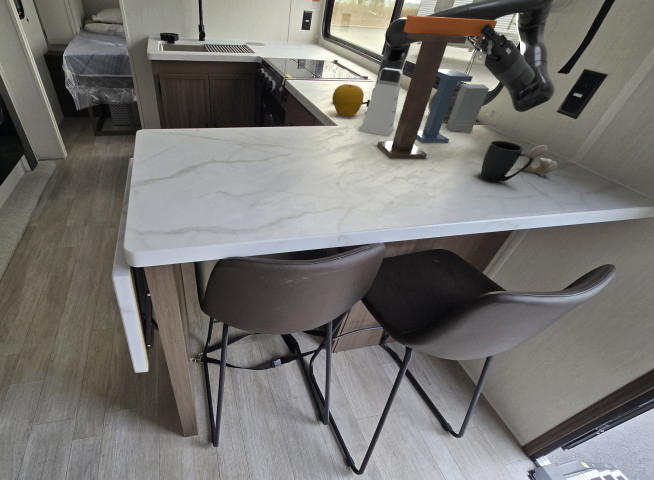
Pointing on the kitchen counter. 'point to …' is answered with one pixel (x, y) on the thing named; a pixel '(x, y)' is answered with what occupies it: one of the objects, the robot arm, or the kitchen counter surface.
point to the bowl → (449, 104)
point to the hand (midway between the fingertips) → (474, 25)
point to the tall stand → (418, 95)
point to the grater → (382, 107)
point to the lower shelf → (441, 105)
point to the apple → (347, 99)
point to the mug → (502, 161)
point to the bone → (545, 163)
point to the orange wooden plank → (446, 25)
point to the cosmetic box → (467, 107)
